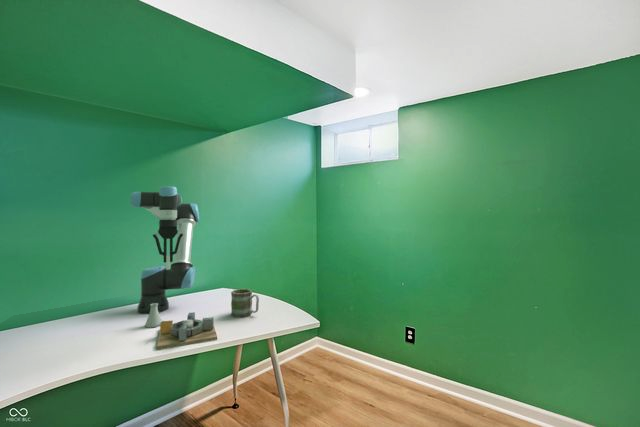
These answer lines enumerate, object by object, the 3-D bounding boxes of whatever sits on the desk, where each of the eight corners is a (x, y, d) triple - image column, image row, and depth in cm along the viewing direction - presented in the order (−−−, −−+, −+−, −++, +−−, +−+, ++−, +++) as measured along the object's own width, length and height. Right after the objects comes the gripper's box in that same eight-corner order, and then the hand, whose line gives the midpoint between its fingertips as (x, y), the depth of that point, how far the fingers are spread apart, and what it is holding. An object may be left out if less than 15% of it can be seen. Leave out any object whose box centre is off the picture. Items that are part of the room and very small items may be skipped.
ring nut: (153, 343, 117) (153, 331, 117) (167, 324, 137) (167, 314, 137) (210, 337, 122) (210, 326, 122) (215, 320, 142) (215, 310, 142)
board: (160, 329, 134) (160, 317, 134) (211, 322, 144) (211, 310, 144) (157, 349, 115) (157, 334, 115) (217, 339, 124) (217, 325, 124)
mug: (226, 316, 153) (226, 292, 153) (239, 310, 163) (239, 288, 163) (252, 320, 147) (252, 295, 147) (264, 313, 157) (264, 290, 157)
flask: (155, 328, 136) (155, 306, 136) (141, 327, 138) (141, 305, 138) (166, 323, 143) (166, 302, 143) (153, 322, 145) (153, 301, 145)
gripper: (151, 219, 134) (151, 271, 134) (183, 219, 140) (183, 269, 140) (153, 219, 141) (153, 268, 141) (183, 219, 147) (183, 266, 147)
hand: (168, 269), depth 140 cm, fingers closed
